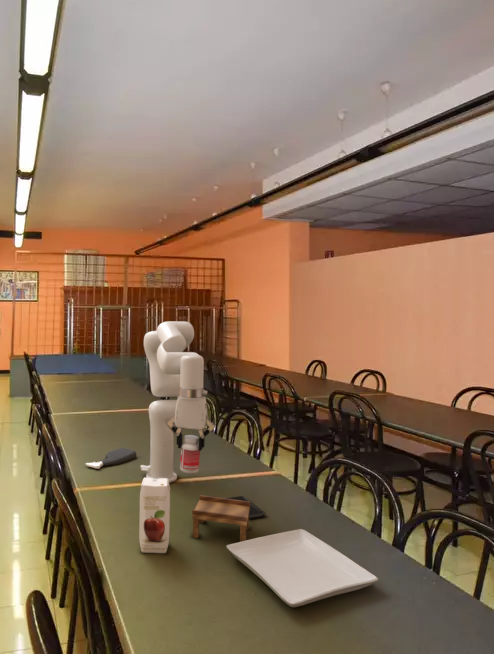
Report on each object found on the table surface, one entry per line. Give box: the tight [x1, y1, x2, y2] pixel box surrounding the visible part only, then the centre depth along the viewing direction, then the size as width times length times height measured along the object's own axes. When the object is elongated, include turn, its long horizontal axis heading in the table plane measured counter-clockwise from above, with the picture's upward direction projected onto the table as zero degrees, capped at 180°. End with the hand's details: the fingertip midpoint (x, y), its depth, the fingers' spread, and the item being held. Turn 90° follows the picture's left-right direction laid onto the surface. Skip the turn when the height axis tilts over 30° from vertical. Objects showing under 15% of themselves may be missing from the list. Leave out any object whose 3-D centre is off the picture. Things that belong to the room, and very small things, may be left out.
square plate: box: [225, 528, 379, 608], centre depth 116 cm, size 27×27×4 cm
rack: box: [191, 494, 251, 542], centre depth 138 cm, size 16×12×8 cm
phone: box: [225, 495, 266, 520], centre depth 155 cm, size 8×1×15 cm
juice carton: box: [138, 476, 171, 554], centre depth 128 cm, size 8×9×19 cm
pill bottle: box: [179, 434, 201, 474], centre depth 146 cm, size 6×6×11 cm
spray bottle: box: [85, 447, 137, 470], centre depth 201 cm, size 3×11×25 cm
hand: (190, 447), depth 146 cm, fingers closed on pill bottle, 6 cm apart
